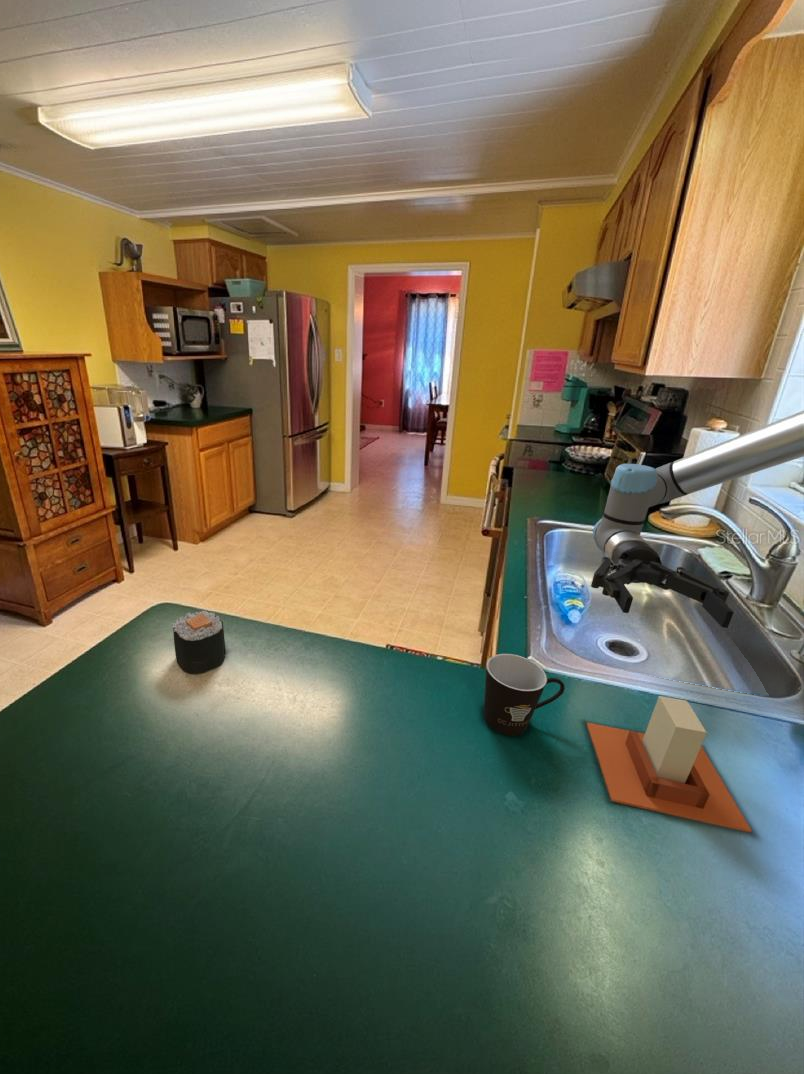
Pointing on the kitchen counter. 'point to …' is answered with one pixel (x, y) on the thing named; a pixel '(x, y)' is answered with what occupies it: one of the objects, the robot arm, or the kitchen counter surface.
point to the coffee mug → (514, 692)
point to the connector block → (673, 739)
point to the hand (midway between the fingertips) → (677, 612)
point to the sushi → (199, 642)
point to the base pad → (662, 781)
